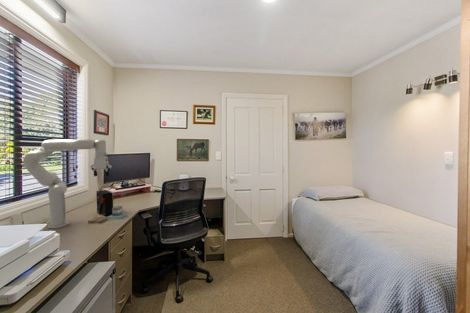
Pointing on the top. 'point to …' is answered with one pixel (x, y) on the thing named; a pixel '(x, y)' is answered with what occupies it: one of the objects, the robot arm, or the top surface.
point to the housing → (116, 210)
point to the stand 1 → (98, 220)
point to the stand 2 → (117, 216)
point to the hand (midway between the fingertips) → (101, 176)
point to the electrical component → (104, 202)
